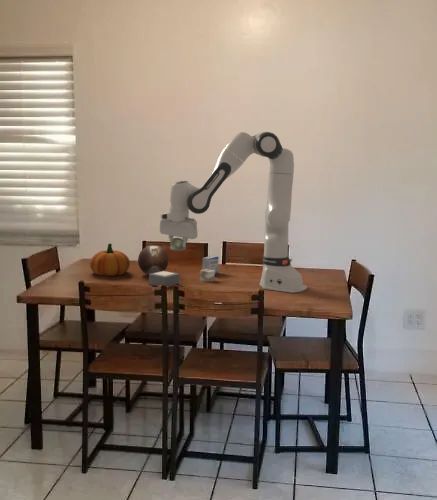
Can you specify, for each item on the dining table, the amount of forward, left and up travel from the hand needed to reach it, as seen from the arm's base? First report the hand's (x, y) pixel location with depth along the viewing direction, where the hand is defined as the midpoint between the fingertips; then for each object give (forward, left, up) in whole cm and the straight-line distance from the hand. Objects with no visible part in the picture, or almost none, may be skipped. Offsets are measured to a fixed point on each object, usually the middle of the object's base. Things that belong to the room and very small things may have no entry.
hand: (177, 245), depth 284 cm
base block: (+4, +5, -18) cm, 19 cm away
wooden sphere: (+21, -6, -18) cm, 29 cm away
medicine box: (+2, -28, -18) cm, 34 cm away
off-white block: (-6, -15, -18) cm, 24 cm away
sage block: (0, 0, -2) cm, 2 cm away
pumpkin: (+39, +6, -18) cm, 44 cm away
